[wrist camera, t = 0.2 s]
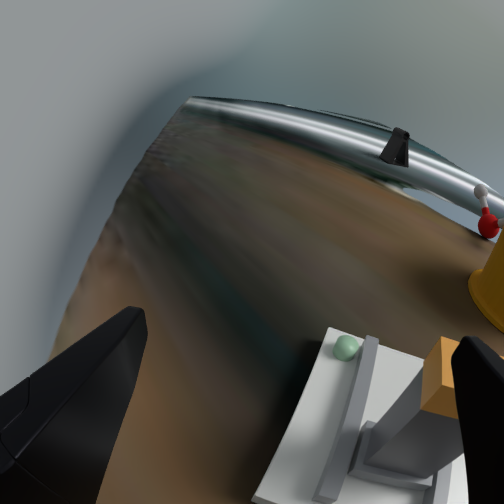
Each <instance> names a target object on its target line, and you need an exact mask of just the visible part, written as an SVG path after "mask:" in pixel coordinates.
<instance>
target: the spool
mask: <svg viewBox="0 0 504 504" xmlns="http://www.w3.org/2000/svg"><path fill="white" fill-rule="evenodd" d="M468 288H469V292H470V295H471V297H472V299H473V301H474V302H475V304H476V305H477V307H478V308H479V310H480V311H481V312H482V313H483V315H484V316H485V317H486V318H487V319H488V320H489V321H490V322H491V323H492V324H493V325H494V326H495V327H497V328H498V329H499V330H500V331H501V332H503V333H504V227H503V229H502V231H501V233H500V236H499V238H498V240H497V242H496V244H495V247H494V249H493V251H492V253H491V255H490V257H489V259H488V261H487V263H486V265H485V267H484V269H478V270H475V271H474V272H473V273H472V274H471V276H470V278H469V280H468Z"/></svg>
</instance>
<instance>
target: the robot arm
mask: <svg viewBox="0 0 504 504" xmlns="http://www.w3.org/2000/svg"><path fill="white" fill-rule="evenodd" d="M147 336H148V331H147V325H146V319H145V313H144V310H143V309H142V308H138V307H132V306H128V307H126V308H124V309H123V310H122V311H120V312H119V313H117V314H116V315H114V316H113V317H111V318H110V319H109V320H107V321H106V322H104V323H103V324H101V325H100V326H98V327H97V328H96V329H94V330H93V331H91V332H90V333H88V334H87V335H86V336H84V337H83V338H81V339H80V340H79V341H77V342H76V343H74V344H73V345H71V346H70V347H69V348H67V349H66V350H64V351H63V352H62V353H60V354H59V355H57V356H56V357H55V358H53V359H52V360H50V361H49V362H48V363H46V364H45V365H43V366H42V367H41V368H39V369H38V370H37V371H35V372H34V373H32V374H31V375H30V378H29V377H27V378H26V379H24V380H23V381H21V382H20V383H19V384H17V385H16V386H14V387H13V388H11V389H10V390H9V391H7V392H6V393H4V394H3V395H1V396H0V504H95V503H96V500H97V497H98V493H99V490H100V487H101V484H102V481H103V478H104V474H105V471H106V468H107V465H108V462H109V459H110V456H111V453H112V450H113V447H114V444H115V441H116V439H117V436H118V433H119V430H120V427H121V424H122V421H123V419H124V416H125V413H126V410H127V408H128V405H129V402H130V399H131V397H132V394H133V391H134V388H135V384H136V381H137V377H138V372H139V368H140V364H141V360H142V357H143V353H144V349H145V345H146V341H147ZM451 368H452V375H453V383H454V391H455V400H456V407H457V413H458V419H459V424H460V430H461V437H462V443H463V450H464V458H465V467H466V476H467V488H468V503H469V504H504V359H503V358H502V357H500V356H499V355H498V354H497V353H496V352H495V351H493V350H492V349H491V348H490V347H489V346H487V345H486V344H485V343H484V342H483V341H482V340H480V339H479V338H478V337H476V336H465V337H463V338H462V340H461V341H460V343H459V344H458V346H457V348H456V349H455V351H454V352H453V354H452V356H451Z"/></svg>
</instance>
